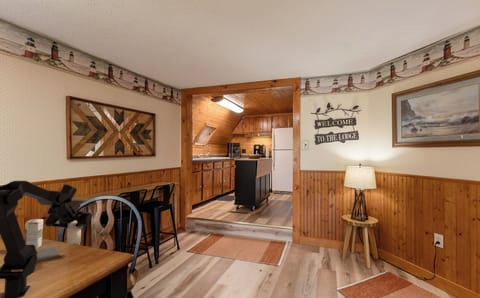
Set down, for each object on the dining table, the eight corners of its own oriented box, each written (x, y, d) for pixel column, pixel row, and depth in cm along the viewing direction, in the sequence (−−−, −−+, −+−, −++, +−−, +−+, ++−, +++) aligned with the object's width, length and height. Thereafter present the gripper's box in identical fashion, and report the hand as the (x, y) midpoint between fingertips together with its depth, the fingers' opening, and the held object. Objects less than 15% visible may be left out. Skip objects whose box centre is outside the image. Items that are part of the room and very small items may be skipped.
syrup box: (28, 246, 125) (30, 219, 125) (42, 245, 127) (43, 218, 127) (23, 250, 119) (24, 222, 120) (37, 249, 122) (38, 221, 122)
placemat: (59, 256, 113) (60, 255, 113) (29, 263, 105) (29, 262, 105) (53, 247, 124) (53, 246, 124) (25, 253, 116) (25, 252, 116)
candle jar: (79, 243, 114) (80, 222, 115) (65, 244, 112) (66, 223, 112) (81, 239, 119) (82, 219, 120) (68, 241, 117) (68, 221, 117)
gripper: (91, 196, 113) (101, 213, 124) (50, 196, 112) (64, 213, 122) (80, 216, 105) (93, 233, 116) (36, 217, 104) (53, 234, 114)
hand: (76, 227), depth 117 cm, fingers closed on candle jar, 6 cm apart
